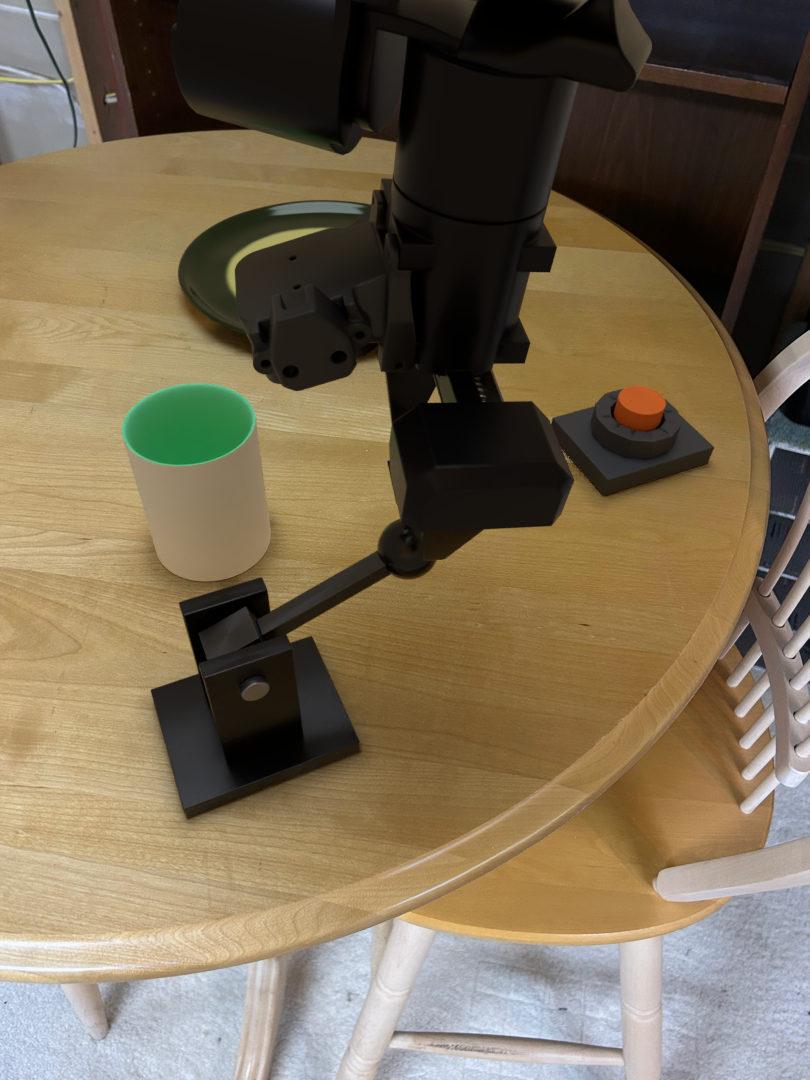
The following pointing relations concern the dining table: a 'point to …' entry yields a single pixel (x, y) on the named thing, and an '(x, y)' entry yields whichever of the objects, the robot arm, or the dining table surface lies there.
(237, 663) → the switch
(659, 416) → the button
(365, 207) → the plate
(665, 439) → the button box
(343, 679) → the dining table surface
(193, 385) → the mug
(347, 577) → the lever
